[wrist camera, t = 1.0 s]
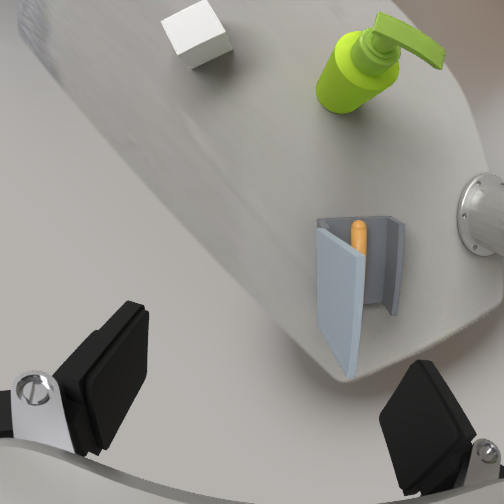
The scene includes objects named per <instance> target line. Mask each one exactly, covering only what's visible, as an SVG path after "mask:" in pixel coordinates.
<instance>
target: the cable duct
mask: <svg viewBox="0 0 504 504" xmlns="http://www.w3.org/2000/svg"><path fill="white" fill-rule="evenodd" d="M317 228H324V229H326V230H327V231H329V232H330V233H332V234H333V235H335V236H336V237H338V238H340V239H341V240H343V241H344V242H346V243H347V244H349V245H350V246H352V247H353V248H355V249H356V250H358V251H359V252H360V253H362V254H363V255H365V256H366V257H365V280H364V296H363V304H373V303H383V304H384V306H385V307H386V309H387V310H388V312H389V313H390V315H391V316H396V315H397V311H398V304H399V296H400V287H401V277H402V266H403V252H404V233H405V224H404V223H403V222H401V221H399V220H397V219H395V218H393V217H391V216H373V217H348V218H325V219H317Z"/></svg>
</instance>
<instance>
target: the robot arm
mask: <svg viewBox="0 0 504 504" xmlns="http://www.w3.org/2000/svg"><path fill="white" fill-rule="evenodd" d="M457 221H458V229H459V234H460V237H461V239H462V241H463V243H464V245H465V246H466V247H467V248H468V249H469V250H470V251H471V252H473V253H475V254H477V255H480V256H489V255H491V254H494V253H496V254H498V255H500V256H502V257H503V258H504V181H503V180H502V179H501V178H500V177H498V176H496V175H493V174H486V173H485V174H480V175H478V176H476V177H474V178H473V179H472V180H471V181H470V182H469V183H468V184H467V186H466V187H465V189H464V191H463V193H462V196H461V198H460V201H459V206H458V215H457ZM148 326H149V312H148V311H146V310H145V307H144V305H142V304H138V303H135V302H132V301H126V302H125V303H124V304H123V305H122V306H121V307H120V308H119V309H118V310H117V311H116V313H115V314H114V315H113V316H112V317H111V318H110V319H109V320H108V321H107V322H106V323H105V324H104V325H103V326H102V327H101V328H100V329H99V330H95V331H94V332H92V333H91V334H90V335H89V336H88V337H87V338H86V339H85V340H84V341H83V342H82V344H81V345H80V346H79V347H78V348H77V349H76V350H75V351H74V352H73V353H72V354H71V355H70V356H69V358H68V359H67V360H66V361H65V362H64V363H63V364H62V365H61V366H60V367H59V369H58V370H57V371H56V372H55V373H54V374H53V375H52V376H51V375H49V374H47V373H45V372H42V371H28V372H25V373H22V374H20V375H19V376H18V377H17V378H15V380H14V381H13V383H12V386H11V390H6V391H0V504H253V503H245V502H238V501H231V500H225V499H219V498H214V497H209V496H204V495H199V494H195V493H191V492H187V491H183V490H179V489H175V488H171V487H168V486H164V485H161V484H157V483H154V482H151V481H147V480H144V479H141V478H138V477H135V476H132V475H130V474H127V473H124V472H121V471H119V470H116V469H113V468H111V467H108V466H105V465H103V464H100V463H98V462H95V461H92V460H90V459H87V458H85V456H86V455H87V453H88V452H91V453H93V454H95V455H97V456H99V454H100V452H101V450H102V449H104V450H107V449H108V448H109V446H110V444H111V442H112V440H113V439H114V437H115V435H116V433H117V431H118V429H119V427H120V425H121V423H122V421H123V420H124V418H125V416H126V414H127V412H128V410H129V408H130V406H131V405H132V403H133V401H134V399H135V397H136V395H137V394H138V392H139V390H140V388H141V386H142V384H143V383H144V380H145V378H146V375H147V352H148V349H147V348H148ZM379 422H380V425H381V428H382V431H383V434H384V437H385V441H386V443H387V447H388V450H389V453H390V457H391V460H392V463H393V467H394V470H395V474H396V477H397V480H398V484H399V487H400V488H401V489H402V490H403V493H404V496H408V495H414V494H416V493H418V492H419V491H420V492H421V495H420V497H417V498H412V499H406V500H401V501H394V502H387V503H380V504H504V466H502V465H501V464H500V462H501V454H500V451H499V449H498V448H497V446H496V445H495V444H494V443H493V442H491V441H490V440H487V439H478V440H476V441H475V443H473V445H472V443H471V441H472V439H473V438H474V437H475V436H476V435H477V434H476V432H475V430H474V429H473V427H472V425H471V423H470V421H469V420H468V418H467V416H466V415H465V413H464V411H463V410H462V408H461V406H460V405H459V403H458V402H457V400H456V398H455V397H454V395H453V393H452V392H451V390H450V388H449V387H448V385H447V384H446V382H445V381H444V379H443V378H442V376H441V375H440V373H439V372H438V370H437V369H436V367H435V366H434V364H433V363H432V361H429V360H416V361H415V362H414V363H413V364H411V365H410V367H409V369H408V370H407V372H406V374H405V376H404V377H403V379H402V381H401V382H400V384H399V385H398V387H397V389H396V390H395V392H394V393H393V395H392V396H391V398H390V400H389V401H388V403H387V404H386V406H385V407H384V409H383V410H382V412H381V413H380V416H379Z"/></svg>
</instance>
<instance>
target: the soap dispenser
mask: <svg viewBox="0 0 504 504" xmlns="http://www.w3.org/2000/svg"><path fill="white" fill-rule="evenodd" d="M400 47H402V48H404V49H405V50H407V51H409V52H411V53H413V54H415V55H416V56H418V57H420V58H421V59H423V60H424V61H426V62H427V63H428V64H430V65H431V66H432V67H433V68H435V69H439V70H442V67H443V62H444V57H445V50H444V49H443V48H442V47H441V46H440V45H439V44H437V43H436V42H435V41H434V40H432V39H431V38H430V37H428V36H427V35H425V34H424V33H423V32H421V31H419V30H418V29H416V28H414V27H412V26H410V25H409V24H407V23H405V22H403V21H400V20H398V19H396V18H394V17H392V16H389V15H387V14H385V13H382V12H380V11H379V12H378V14H377V16H376V19H375V23H374V26H373V28H368V29H366V30H364V31H355V32H350V33H348V34H346V35H344V36H343V37H341V38H340V40H339V41H338V42H337V44H336V46H335V48H334V50H333V52H332V54H331V56H330V58H329V60H328V62H327V64H326V66H325V68H324V70H323V72H322V74H321V76H320V78H319V80H318V82H317V86H316V94H317V97H318V100H319V101H320V103H321V104H322V105H323V106H324V107H325V108H326V109H328V110H329V111H331V112H334V113H338V114H346V113H349V112H352V111H353V110H355V109H356V108H358V107H359V106H361V105H362V104H364V103H365V102H367V101H368V100H370V99H371V98H373V97H374V96H376V95H377V94H379V93H380V92H382V91H384V90H385V89H387V88H388V87H390V86H391V85H392V84H393V83H394V82H395V81H396V79H397V77H398V74H399V62H398V60H399V58H400V55H401V49H400Z"/></svg>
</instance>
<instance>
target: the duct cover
mask: <svg viewBox="0 0 504 504" xmlns="http://www.w3.org/2000/svg"><path fill="white" fill-rule="evenodd" d="M316 238H317V326H318V328H319V329H320V331H321V333H322V335H323V336H324V338H325V340H326V342H327V344H328V345H329V347H330V349H331V351H332V352H333V354H334V356H335V358H336V360H337V361H338V363H339V365H340V367H341V369H342V370H343V372H344V374H345V376H346V378H352V377H355V371H356V364H357V357H358V349H359V340H360V331H361V321H362V309H363V296H364V280H365V257H366V256H365V255H363V254H362V253H360V252H359V251H358V250H356V249H355V248H353V247H352V246H350V245H349V244H347V243H346V242H344V241H343V240H341V239H340V238H338V237H336V236H335V235H333V234H332V233H330V232H329V231H327V230H326V229H324V228H316Z"/></svg>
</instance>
